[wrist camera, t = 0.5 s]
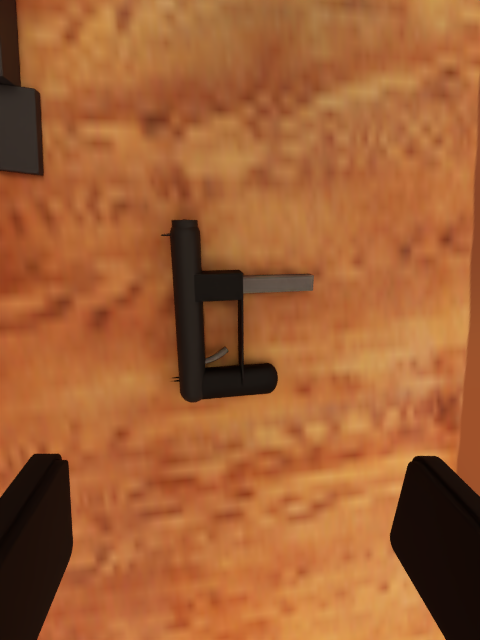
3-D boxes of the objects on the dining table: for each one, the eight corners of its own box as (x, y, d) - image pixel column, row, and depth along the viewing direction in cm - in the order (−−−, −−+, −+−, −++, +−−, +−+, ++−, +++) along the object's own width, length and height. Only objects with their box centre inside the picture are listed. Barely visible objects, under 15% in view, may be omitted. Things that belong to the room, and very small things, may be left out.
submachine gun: (319, 218, 33) (156, 219, 31) (309, 396, 39) (170, 409, 36) (307, 219, 36) (159, 220, 34) (300, 383, 42) (171, 394, 39)
